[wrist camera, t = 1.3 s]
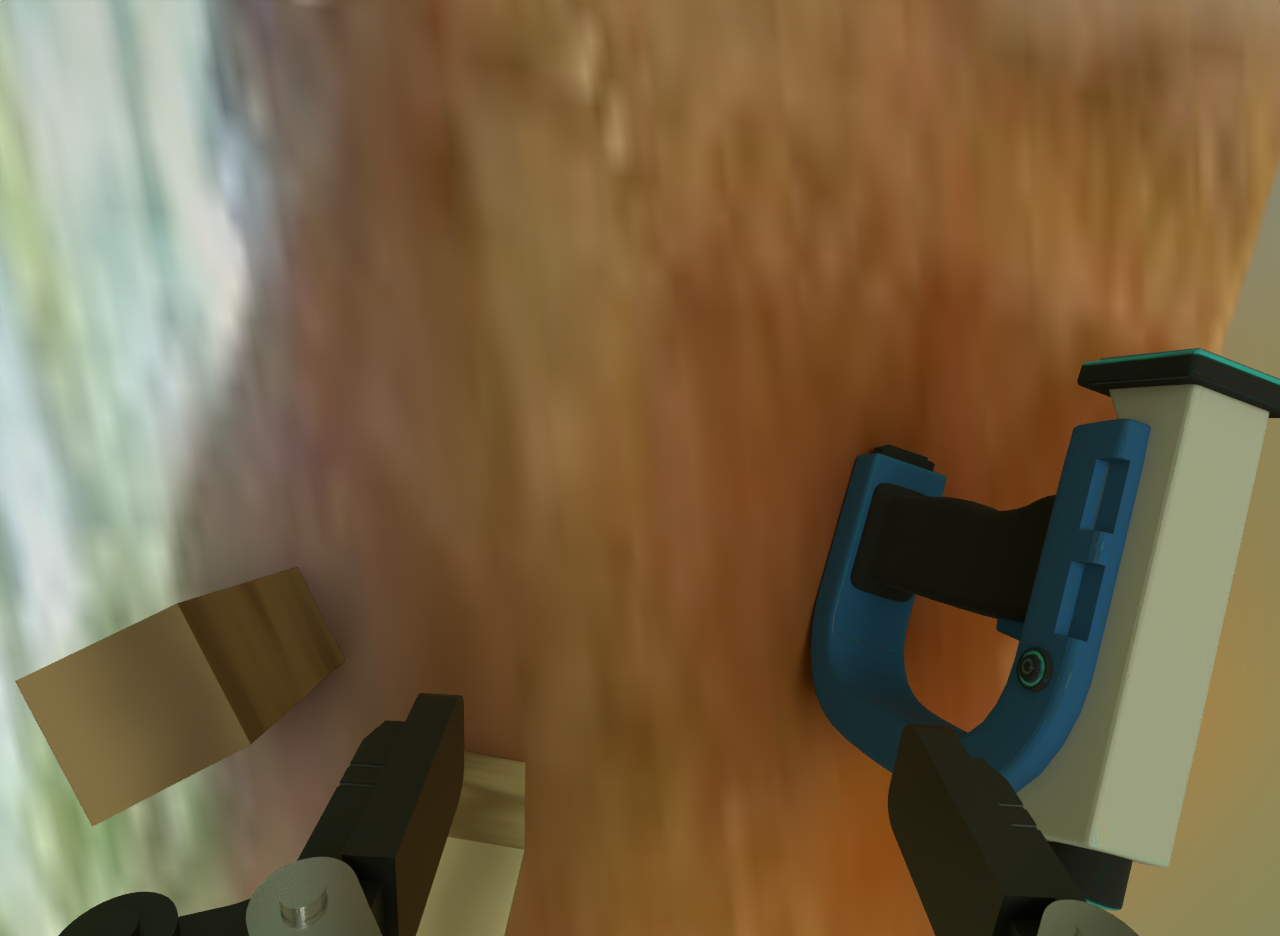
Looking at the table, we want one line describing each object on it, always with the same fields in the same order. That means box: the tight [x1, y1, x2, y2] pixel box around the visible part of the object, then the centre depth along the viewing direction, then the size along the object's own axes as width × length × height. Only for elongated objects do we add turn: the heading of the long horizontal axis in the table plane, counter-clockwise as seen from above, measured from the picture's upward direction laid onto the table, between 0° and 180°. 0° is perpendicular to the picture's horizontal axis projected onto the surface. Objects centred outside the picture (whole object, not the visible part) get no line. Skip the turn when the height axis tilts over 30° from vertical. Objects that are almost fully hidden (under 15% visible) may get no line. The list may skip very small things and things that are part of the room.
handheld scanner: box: [811, 348, 1280, 911], centre depth 29 cm, size 5×16×20 cm, turn 163°
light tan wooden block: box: [15, 567, 345, 826], centre depth 28 cm, size 5×5×12 cm
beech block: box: [416, 751, 525, 936], centre depth 31 cm, size 5×5×9 cm
